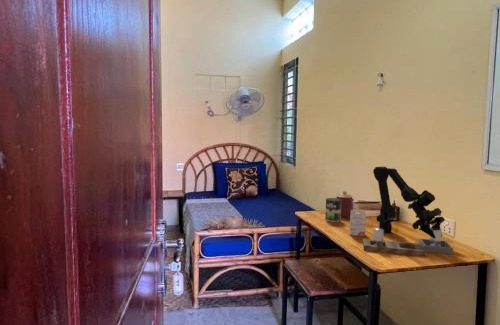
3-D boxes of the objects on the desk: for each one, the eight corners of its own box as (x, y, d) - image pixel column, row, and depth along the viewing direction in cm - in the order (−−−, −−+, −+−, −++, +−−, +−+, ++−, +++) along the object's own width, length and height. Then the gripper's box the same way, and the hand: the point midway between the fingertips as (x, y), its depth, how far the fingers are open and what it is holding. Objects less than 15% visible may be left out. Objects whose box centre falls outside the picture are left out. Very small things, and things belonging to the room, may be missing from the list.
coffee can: (337, 222, 231) (338, 201, 230) (322, 220, 237) (323, 199, 235) (342, 219, 239) (343, 199, 238) (328, 217, 245) (329, 197, 244)
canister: (349, 218, 243) (351, 193, 241) (331, 215, 250) (332, 191, 248) (355, 215, 253) (356, 190, 252) (338, 212, 260) (338, 188, 259)
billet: (372, 249, 179) (373, 229, 178) (372, 246, 184) (373, 227, 183) (383, 250, 178) (384, 230, 177) (382, 247, 183) (383, 228, 182)
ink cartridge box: (365, 234, 205) (366, 209, 204) (364, 236, 200) (366, 211, 199) (349, 232, 208) (351, 208, 207) (349, 235, 203) (350, 210, 202)
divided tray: (363, 250, 177) (364, 245, 177) (362, 243, 189) (363, 238, 188) (424, 256, 170) (425, 251, 170) (419, 248, 181) (420, 243, 181)
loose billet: (430, 249, 180) (431, 230, 179) (428, 246, 184) (429, 228, 183) (441, 251, 178) (442, 231, 177) (439, 247, 183) (440, 229, 182)
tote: (423, 251, 177) (424, 245, 176) (418, 243, 189) (419, 238, 189) (452, 254, 173) (453, 248, 173) (445, 246, 186) (445, 240, 186)
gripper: (418, 204, 179) (436, 231, 170) (442, 201, 187) (461, 227, 178) (404, 215, 186) (421, 242, 178) (428, 212, 195) (446, 238, 186)
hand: (438, 237), depth 179 cm, fingers closed on loose billet, 5 cm apart
